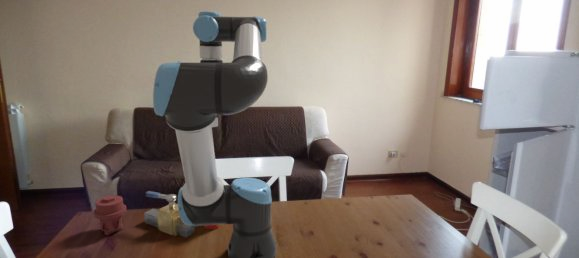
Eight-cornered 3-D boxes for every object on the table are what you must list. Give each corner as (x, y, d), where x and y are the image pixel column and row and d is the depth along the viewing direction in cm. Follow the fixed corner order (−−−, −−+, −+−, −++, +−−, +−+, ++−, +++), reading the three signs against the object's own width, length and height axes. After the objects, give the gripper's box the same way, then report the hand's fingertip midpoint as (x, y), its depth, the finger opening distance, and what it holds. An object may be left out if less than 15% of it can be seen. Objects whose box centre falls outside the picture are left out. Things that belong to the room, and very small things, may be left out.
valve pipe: (197, 230, 127) (195, 202, 124) (183, 239, 121) (181, 209, 119) (156, 217, 136) (154, 190, 134) (142, 224, 131) (139, 196, 128)
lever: (172, 202, 123) (172, 198, 123) (144, 197, 127) (144, 193, 127) (178, 198, 126) (178, 194, 126) (150, 193, 130) (150, 190, 130)
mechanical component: (134, 225, 130) (115, 239, 121) (109, 222, 132) (89, 236, 123) (131, 193, 127) (112, 205, 118) (105, 190, 129) (85, 202, 120)
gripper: (231, 59, 123) (232, 128, 128) (211, 58, 132) (213, 121, 138) (211, 60, 118) (213, 131, 124) (192, 58, 128) (195, 124, 133)
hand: (213, 126), depth 131 cm, fingers closed
